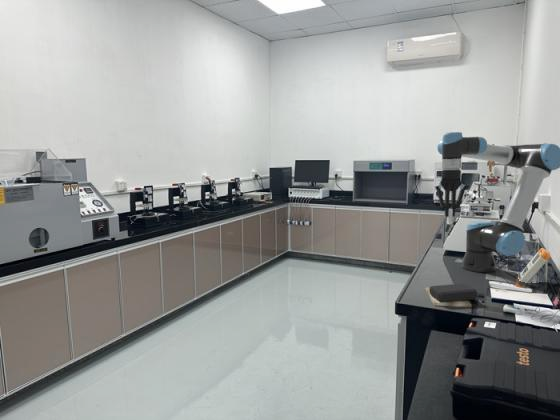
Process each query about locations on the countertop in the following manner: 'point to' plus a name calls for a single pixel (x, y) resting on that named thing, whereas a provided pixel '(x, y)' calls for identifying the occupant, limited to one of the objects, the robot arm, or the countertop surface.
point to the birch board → (450, 303)
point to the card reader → (453, 292)
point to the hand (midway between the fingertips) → (449, 223)
